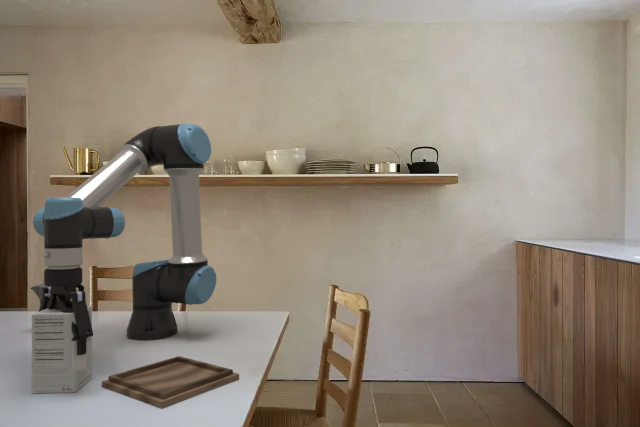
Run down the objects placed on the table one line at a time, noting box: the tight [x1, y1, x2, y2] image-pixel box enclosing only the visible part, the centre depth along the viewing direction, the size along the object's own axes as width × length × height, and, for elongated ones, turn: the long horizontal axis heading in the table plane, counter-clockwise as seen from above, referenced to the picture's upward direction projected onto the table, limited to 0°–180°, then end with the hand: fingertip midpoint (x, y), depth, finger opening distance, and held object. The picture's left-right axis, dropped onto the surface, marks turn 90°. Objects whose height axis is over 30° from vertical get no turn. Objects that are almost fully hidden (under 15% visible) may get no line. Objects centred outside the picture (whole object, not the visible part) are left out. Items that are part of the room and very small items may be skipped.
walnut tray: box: [101, 355, 240, 409], centre depth 110 cm, size 21×21×2 cm
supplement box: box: [31, 305, 93, 394], centre depth 108 cm, size 10×9×17 cm
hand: (63, 364), depth 108 cm, fingers closed on supplement box, 13 cm apart
